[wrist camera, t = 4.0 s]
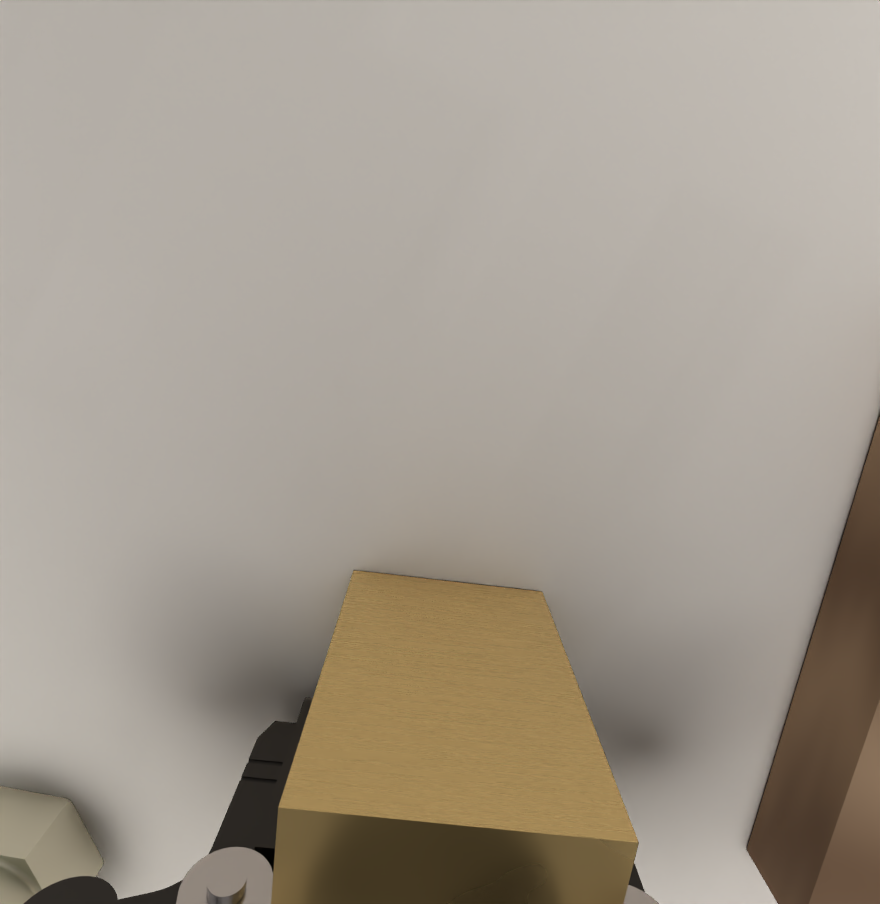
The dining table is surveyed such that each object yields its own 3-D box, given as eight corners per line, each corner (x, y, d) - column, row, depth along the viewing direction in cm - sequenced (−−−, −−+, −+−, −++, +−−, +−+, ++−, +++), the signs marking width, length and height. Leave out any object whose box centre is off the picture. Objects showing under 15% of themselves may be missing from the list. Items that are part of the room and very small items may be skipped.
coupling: (326, 842, 14) (246, 1231, 8) (353, 570, 12) (277, 808, 6) (493, 858, 14) (535, 1252, 8) (542, 591, 12) (638, 841, 6)
